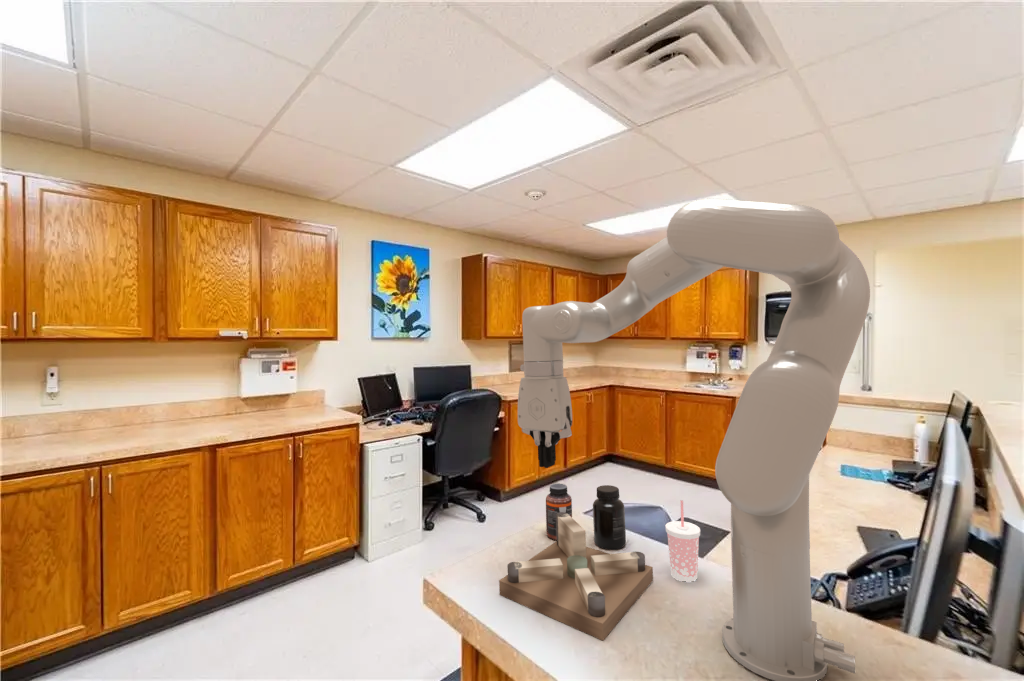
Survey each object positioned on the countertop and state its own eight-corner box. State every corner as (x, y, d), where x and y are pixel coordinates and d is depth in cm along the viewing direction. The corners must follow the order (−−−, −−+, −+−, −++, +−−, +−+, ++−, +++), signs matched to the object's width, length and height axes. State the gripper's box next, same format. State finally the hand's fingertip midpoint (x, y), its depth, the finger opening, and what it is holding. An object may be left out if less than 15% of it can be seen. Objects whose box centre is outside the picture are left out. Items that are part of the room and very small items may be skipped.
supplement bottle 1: (571, 542, 96) (569, 491, 96) (544, 540, 97) (543, 489, 97) (573, 530, 102) (572, 482, 102) (548, 529, 103) (547, 481, 103)
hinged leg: (554, 542, 90) (554, 513, 90) (566, 540, 91) (565, 511, 91) (574, 564, 81) (573, 532, 81) (586, 562, 82) (585, 530, 82)
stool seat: (653, 580, 80) (652, 553, 80) (603, 640, 64) (602, 607, 64) (560, 550, 92) (559, 527, 92) (499, 594, 77) (498, 566, 77)
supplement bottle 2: (623, 536, 98) (621, 483, 98) (628, 551, 91) (626, 493, 91) (592, 536, 99) (591, 483, 99) (595, 550, 92) (593, 493, 92)
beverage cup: (692, 588, 77) (689, 509, 77) (660, 575, 81) (658, 500, 81) (707, 575, 81) (705, 500, 81) (676, 563, 85) (674, 492, 86)
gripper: (501, 371, 85) (504, 465, 85) (567, 372, 76) (571, 477, 76) (523, 369, 91) (527, 456, 91) (587, 369, 82) (591, 466, 82)
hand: (547, 465), depth 83 cm, fingers closed
